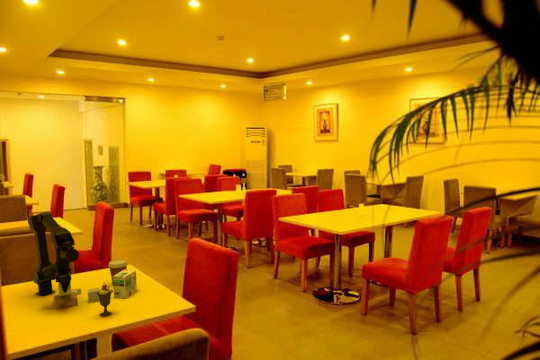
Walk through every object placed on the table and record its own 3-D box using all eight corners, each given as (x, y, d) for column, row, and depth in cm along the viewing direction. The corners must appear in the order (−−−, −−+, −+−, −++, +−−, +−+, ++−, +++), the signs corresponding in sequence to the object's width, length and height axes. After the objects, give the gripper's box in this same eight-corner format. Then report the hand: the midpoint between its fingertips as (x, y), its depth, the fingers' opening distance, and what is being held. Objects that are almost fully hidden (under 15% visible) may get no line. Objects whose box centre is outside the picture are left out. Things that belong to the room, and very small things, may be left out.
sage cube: (59, 295, 188) (58, 285, 188) (59, 292, 193) (58, 281, 192) (71, 293, 190) (70, 283, 190) (71, 290, 195) (70, 279, 194)
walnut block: (56, 310, 186) (55, 302, 185) (54, 303, 193) (53, 295, 193) (78, 306, 191) (77, 297, 190) (75, 299, 198) (74, 291, 198)
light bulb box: (126, 298, 197) (124, 276, 196) (113, 297, 199) (112, 276, 198) (137, 290, 208) (136, 269, 207) (125, 289, 209) (124, 269, 208)
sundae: (104, 318, 176) (102, 284, 174) (94, 315, 179) (92, 281, 178) (117, 313, 181) (115, 279, 180) (107, 309, 185) (105, 277, 183)
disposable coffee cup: (124, 287, 213) (123, 264, 212) (106, 287, 213) (105, 264, 212) (131, 280, 222) (130, 259, 221) (113, 281, 222) (112, 259, 221)
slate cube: (88, 303, 193) (87, 292, 193) (88, 299, 198) (87, 289, 197) (100, 301, 195) (99, 291, 195) (99, 297, 200) (98, 287, 199)
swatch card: (63, 297, 201) (63, 296, 201) (63, 291, 208) (63, 290, 208) (81, 294, 204) (81, 293, 204) (80, 288, 211) (80, 288, 211)
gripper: (44, 255, 195) (46, 287, 196) (41, 266, 178) (44, 300, 179) (70, 252, 199) (72, 283, 201) (70, 262, 183) (72, 296, 184)
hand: (65, 290), depth 191 cm, fingers closed on sage cube, 5 cm apart
